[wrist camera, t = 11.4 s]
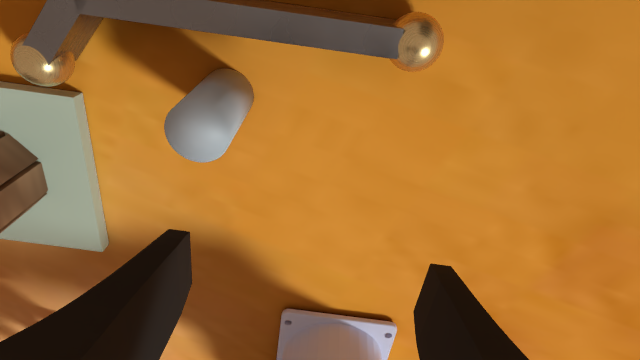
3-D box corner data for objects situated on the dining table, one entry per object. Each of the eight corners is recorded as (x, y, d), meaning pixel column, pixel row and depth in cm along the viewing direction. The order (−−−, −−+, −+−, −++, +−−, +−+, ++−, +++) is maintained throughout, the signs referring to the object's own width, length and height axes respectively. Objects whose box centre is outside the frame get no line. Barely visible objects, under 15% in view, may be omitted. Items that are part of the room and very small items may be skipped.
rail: (412, 123, 20) (421, 147, 18) (45, 72, 20) (4, 89, 18) (442, 7, 18) (458, 16, 15) (17, -56, 17) (-36, -56, 15)
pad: (108, 243, 25) (102, 252, 25) (-50, 223, 25) (-61, 230, 25) (82, 92, 20) (73, 97, 20) (-116, 65, 20) (-132, 69, 20)
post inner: (252, 121, 21) (229, 166, 17) (202, 114, 21) (166, 157, 16) (254, 72, 20) (230, 106, 15) (202, 64, 19) (162, 97, 15)
